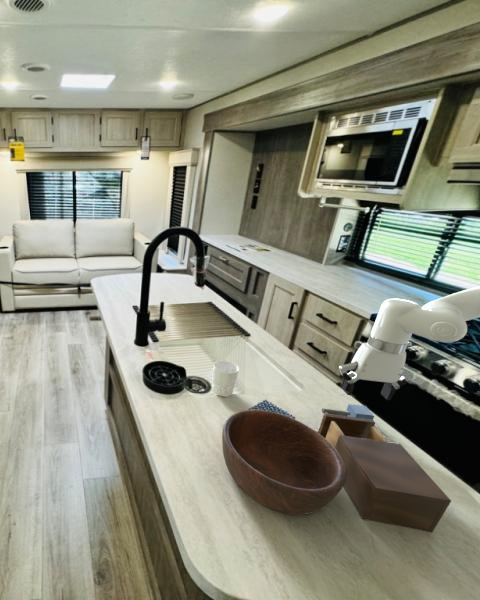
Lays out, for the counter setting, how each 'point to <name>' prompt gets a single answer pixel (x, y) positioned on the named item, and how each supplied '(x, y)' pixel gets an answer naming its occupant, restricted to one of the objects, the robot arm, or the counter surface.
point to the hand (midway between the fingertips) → (365, 394)
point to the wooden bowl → (281, 461)
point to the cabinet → (390, 484)
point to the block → (359, 411)
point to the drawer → (347, 427)
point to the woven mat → (270, 408)
